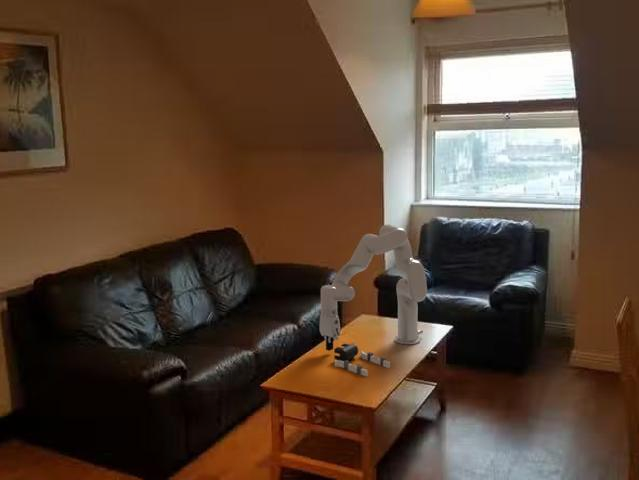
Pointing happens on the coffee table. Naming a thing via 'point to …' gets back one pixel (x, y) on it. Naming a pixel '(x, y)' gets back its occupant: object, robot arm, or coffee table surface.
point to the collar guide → (358, 368)
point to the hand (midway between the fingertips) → (329, 349)
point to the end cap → (346, 352)
